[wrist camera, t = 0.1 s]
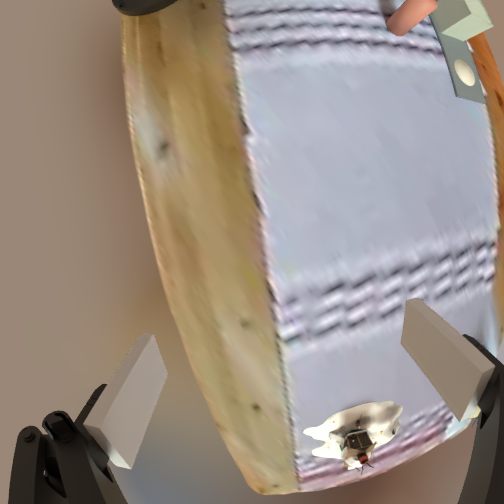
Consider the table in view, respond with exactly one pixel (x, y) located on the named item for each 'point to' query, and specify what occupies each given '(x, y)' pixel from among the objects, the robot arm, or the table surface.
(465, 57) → the board
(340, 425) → the cabin
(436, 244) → the table surface
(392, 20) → the peg
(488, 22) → the pale green block
